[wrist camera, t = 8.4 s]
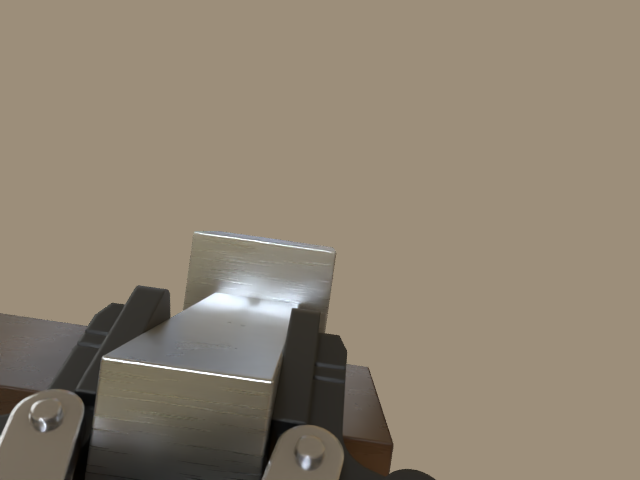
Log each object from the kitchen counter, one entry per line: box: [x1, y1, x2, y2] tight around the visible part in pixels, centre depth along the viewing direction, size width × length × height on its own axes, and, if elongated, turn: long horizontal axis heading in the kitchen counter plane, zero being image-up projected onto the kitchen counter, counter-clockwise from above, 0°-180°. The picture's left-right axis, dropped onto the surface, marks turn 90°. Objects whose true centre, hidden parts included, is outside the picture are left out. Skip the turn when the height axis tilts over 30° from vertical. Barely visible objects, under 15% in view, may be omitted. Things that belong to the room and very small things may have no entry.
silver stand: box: [85, 231, 336, 480], centre depth 18 cm, size 5×16×5 cm, turn 179°
